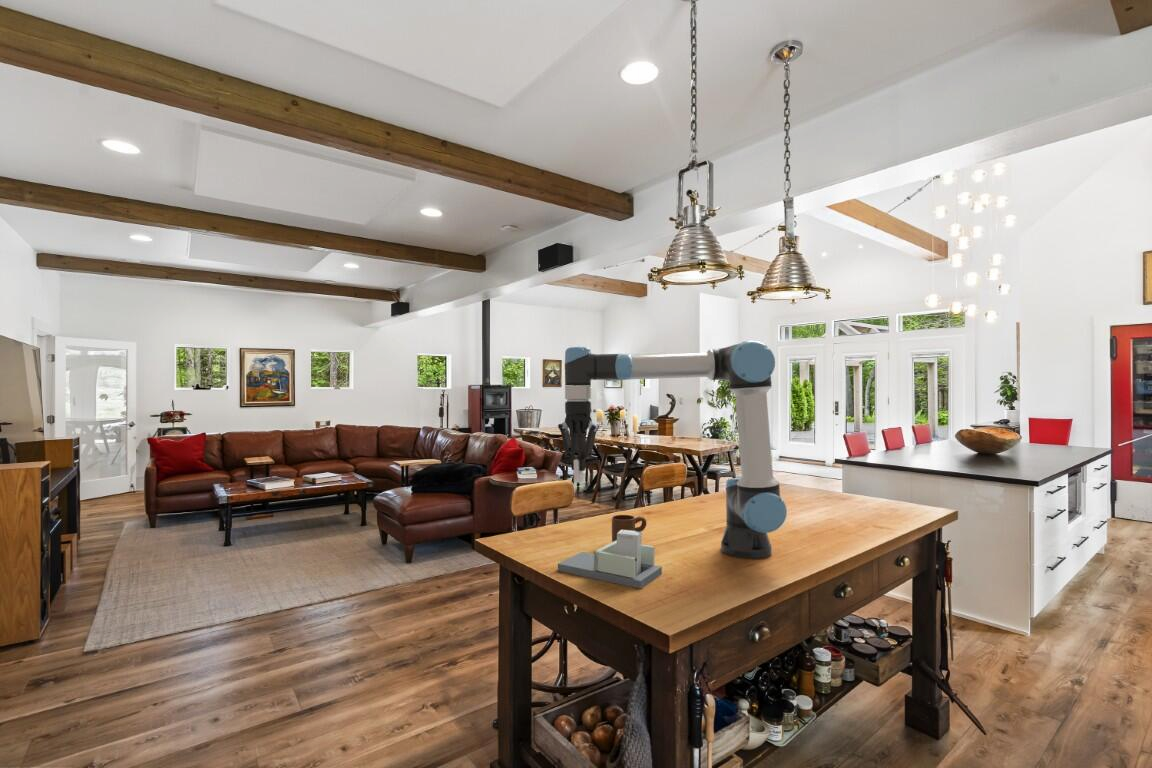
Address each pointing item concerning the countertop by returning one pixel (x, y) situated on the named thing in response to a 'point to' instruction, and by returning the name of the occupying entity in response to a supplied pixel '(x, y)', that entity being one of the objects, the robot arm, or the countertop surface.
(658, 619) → the countertop surface
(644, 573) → the board
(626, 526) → the mug
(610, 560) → the housing
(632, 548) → the skincare box
